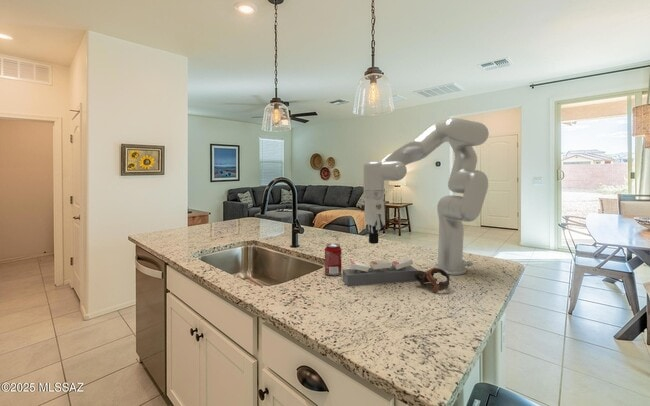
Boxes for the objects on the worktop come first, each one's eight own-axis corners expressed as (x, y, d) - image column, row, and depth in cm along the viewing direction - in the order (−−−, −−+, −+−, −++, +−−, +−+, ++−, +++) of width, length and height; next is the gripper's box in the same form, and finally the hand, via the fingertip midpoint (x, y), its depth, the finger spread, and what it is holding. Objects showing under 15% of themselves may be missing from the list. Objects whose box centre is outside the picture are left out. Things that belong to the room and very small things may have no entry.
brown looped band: (442, 284, 113) (451, 269, 108) (444, 304, 105) (453, 289, 100) (411, 274, 114) (417, 259, 110) (410, 293, 107) (417, 278, 102)
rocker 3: (408, 261, 120) (407, 256, 119) (413, 264, 116) (412, 259, 115) (392, 266, 118) (391, 262, 118) (396, 269, 114) (395, 265, 114)
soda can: (340, 276, 119) (340, 247, 118) (323, 275, 121) (323, 246, 120) (342, 271, 126) (342, 243, 125) (326, 270, 127) (326, 242, 126)
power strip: (424, 273, 123) (425, 262, 123) (434, 279, 116) (434, 267, 116) (342, 279, 116) (342, 267, 116) (347, 286, 110) (347, 273, 109)
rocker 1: (364, 268, 116) (365, 263, 116) (367, 271, 112) (369, 266, 112) (347, 265, 115) (348, 260, 115) (350, 268, 111) (351, 263, 111)
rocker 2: (386, 264, 118) (386, 259, 118) (391, 267, 114) (390, 262, 114) (369, 266, 116) (369, 261, 116) (373, 269, 113) (373, 264, 112)
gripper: (391, 196, 106) (391, 247, 108) (375, 193, 121) (375, 238, 122) (371, 196, 104) (371, 248, 106) (357, 193, 119) (358, 239, 121)
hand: (373, 242), depth 114 cm, fingers closed
